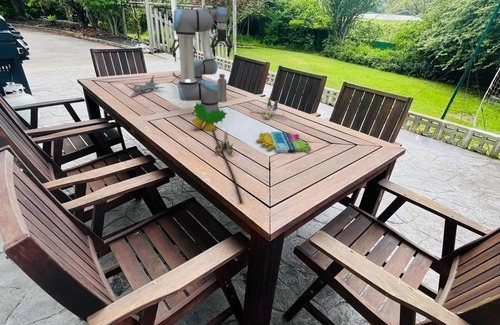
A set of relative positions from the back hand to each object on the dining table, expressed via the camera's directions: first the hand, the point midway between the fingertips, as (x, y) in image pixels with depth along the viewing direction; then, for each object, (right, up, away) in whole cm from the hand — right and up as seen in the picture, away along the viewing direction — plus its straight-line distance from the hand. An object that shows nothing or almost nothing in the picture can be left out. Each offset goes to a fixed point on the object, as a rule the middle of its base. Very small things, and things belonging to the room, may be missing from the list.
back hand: (221, 56), depth 225 cm
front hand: (-29, -10, -13) cm, 33 cm away
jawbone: (+11, -85, -86) cm, 122 cm away
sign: (+43, -80, -72) cm, 116 cm away
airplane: (-67, -29, +5) cm, 73 cm away
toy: (+39, -54, -27) cm, 72 cm away
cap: (+2, -21, -15) cm, 26 cm away
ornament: (-1, -70, -60) cm, 92 cm away
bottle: (+1, -39, -5) cm, 39 cm away
